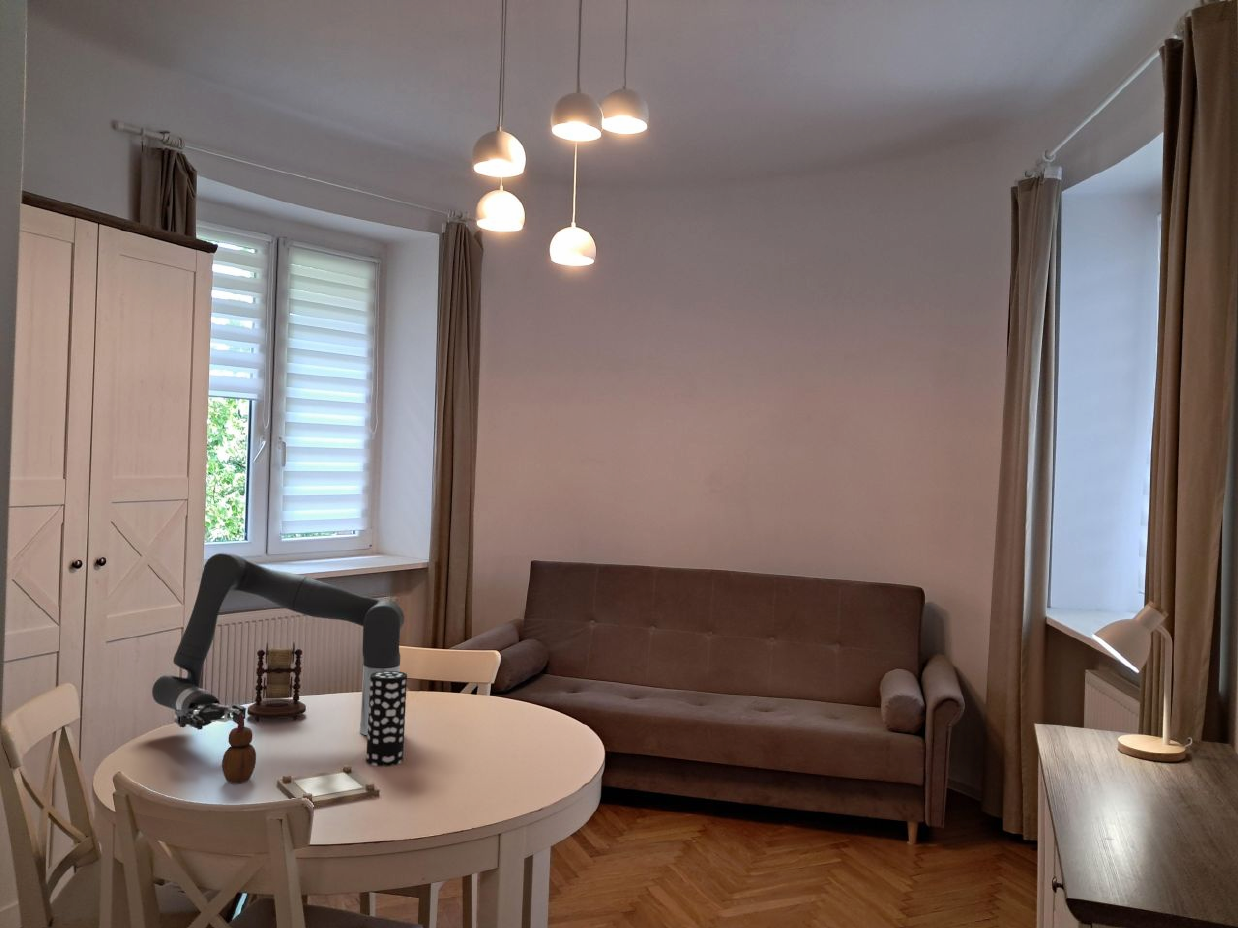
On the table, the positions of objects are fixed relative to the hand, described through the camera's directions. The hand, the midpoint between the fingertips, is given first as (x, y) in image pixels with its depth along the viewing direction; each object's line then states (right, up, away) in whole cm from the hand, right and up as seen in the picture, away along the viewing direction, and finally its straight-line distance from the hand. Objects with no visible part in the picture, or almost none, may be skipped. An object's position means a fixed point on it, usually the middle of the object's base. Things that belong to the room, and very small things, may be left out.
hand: (221, 722), depth 201 cm
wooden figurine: (+7, -10, -8) cm, 15 cm away
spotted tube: (+34, -12, +9) cm, 37 cm away
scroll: (-4, -11, +42) cm, 44 cm away
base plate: (+28, -11, -12) cm, 32 cm away
